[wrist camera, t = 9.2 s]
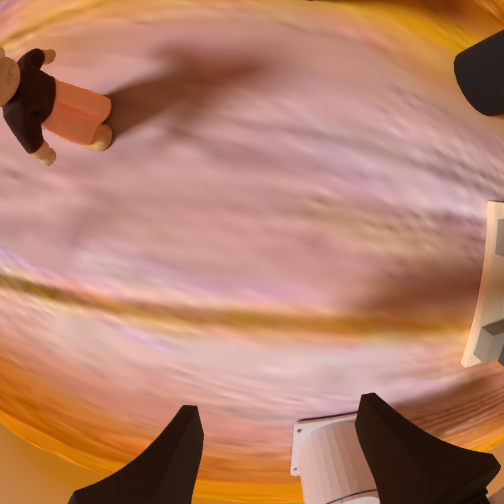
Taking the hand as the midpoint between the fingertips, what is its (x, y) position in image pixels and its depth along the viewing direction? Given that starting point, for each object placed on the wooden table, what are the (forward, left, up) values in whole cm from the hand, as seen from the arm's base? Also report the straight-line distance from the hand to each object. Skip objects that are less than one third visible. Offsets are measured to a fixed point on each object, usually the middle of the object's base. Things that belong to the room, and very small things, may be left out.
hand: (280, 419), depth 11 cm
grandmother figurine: (+16, +12, -10) cm, 22 cm away
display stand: (+1, -24, -9) cm, 26 cm away
